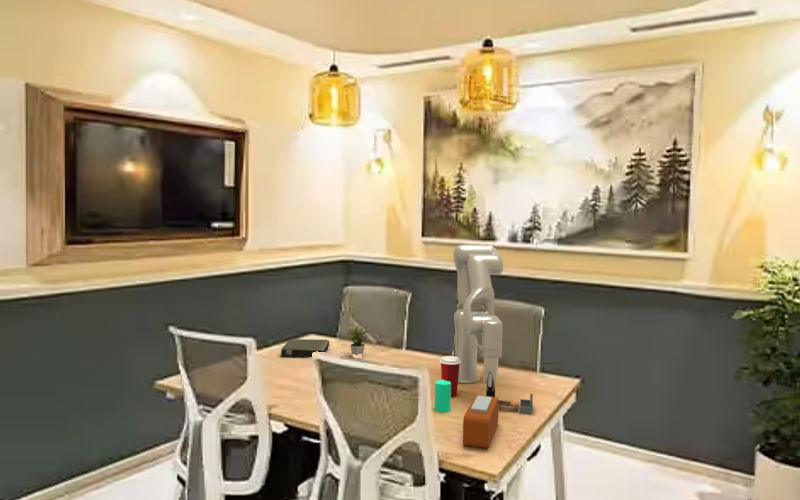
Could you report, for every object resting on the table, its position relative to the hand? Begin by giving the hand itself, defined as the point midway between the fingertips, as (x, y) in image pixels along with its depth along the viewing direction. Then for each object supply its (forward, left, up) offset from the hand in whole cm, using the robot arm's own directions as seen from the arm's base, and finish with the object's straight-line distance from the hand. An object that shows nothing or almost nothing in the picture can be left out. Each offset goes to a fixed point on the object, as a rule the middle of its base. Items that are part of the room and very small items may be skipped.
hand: (490, 398), depth 232 cm
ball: (+9, 0, -1) cm, 9 cm away
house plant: (-69, +53, -3) cm, 87 cm away
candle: (-17, -8, -3) cm, 19 cm away
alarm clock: (-1, -28, -4) cm, 29 cm away
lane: (+3, 0, -3) cm, 4 cm away
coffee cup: (-17, +10, -3) cm, 20 cm away
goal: (+13, 0, -3) cm, 14 cm away
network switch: (-97, +55, -4) cm, 112 cm away
